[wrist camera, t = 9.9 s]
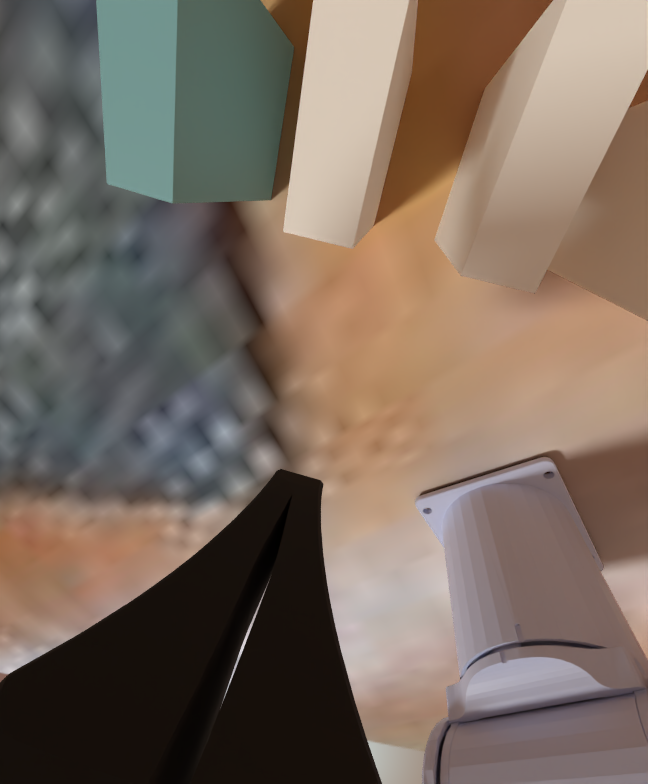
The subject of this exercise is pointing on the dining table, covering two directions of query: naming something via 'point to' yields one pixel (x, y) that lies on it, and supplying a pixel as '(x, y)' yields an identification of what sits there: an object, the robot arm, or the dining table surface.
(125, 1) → the domino
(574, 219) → the domino
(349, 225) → the domino
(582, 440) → the dining table surface
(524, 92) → the domino
